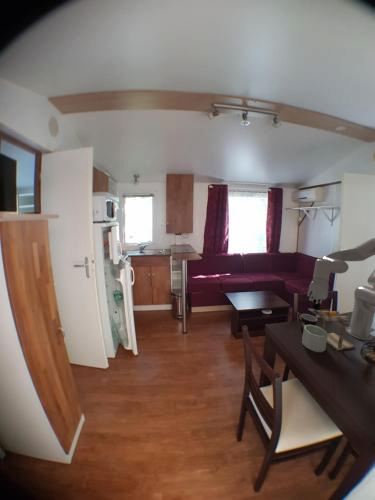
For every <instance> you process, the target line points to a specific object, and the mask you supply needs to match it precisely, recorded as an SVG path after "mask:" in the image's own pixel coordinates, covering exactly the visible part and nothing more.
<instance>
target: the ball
mask: <svg viewBox="0 0 375 500" xmlns="http://www.w3.org/2000/svg"><path fill="white" fill-rule="evenodd" d="M330 311H331V312H330V313H329V315H330V316H337V313H336V312H334V311H335V310H334V311H333V310H330Z"/></svg>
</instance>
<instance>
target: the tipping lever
mask: <svg viewBox="0 0 375 500" xmlns="http://www.w3.org/2000/svg"><path fill="white" fill-rule="evenodd" d="M307 310H308V311H310V312H311V313H313V314H314V315H316V316H319V317H320V318H321V319H322V320H323V319H325V320H326V322H332V323H334V324H335V325H337V326H339V327H340V328H341V327H342V322H346V323H348V325H347V326H346V328H347V327H349V326H350V322H351V318H350V316H349V315H348V316H345V315H344V316H342V315H340V311H339V310H337V311H336V310H334V312H336V313H337V316H330V315H329V313H330V312H331V311H332V310H320V309H319V310H315V309H313V308H308V309H307Z"/></svg>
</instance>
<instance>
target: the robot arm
mask: <svg viewBox="0 0 375 500" xmlns="http://www.w3.org/2000/svg"><path fill="white" fill-rule="evenodd" d="M374 255H375V237H373V238H370V239H367V240H366V241H364V242H362V243H359V244H357V245H356V246H354V247H352V248H345V249H341V250H337V251H334V252H333V251H332V252H331V253H329V254H327V255H325V256H323V257H322V258H317V259H316V260H315V263H314V269H313V275H312V280H311V282H310V283H309V286H308V290H307V297H308V301H310V302H312V307H311V309H315V310H320V308H321V307H320V306H321V305H322V302H323V301H325V300H326V299H327V298H328V296H329V295H328V294H329V285H330V284H329V282H330V276H331V273H333V274H344V273H346V272H347V271H348V270H349V264H348V263H347V262H362V261H363V262H364V261H365V260H368V259H369V258H371V257H373V256H374ZM367 283H368V285H370V286H372V287H370V286H367V285H358V286H357V287H356V288H355V290H354V293H353V295H354V296H353V297H354V303H353V304H354V305H353V309H352V312H351V318H350V322H349V326H348V327H346V328H345V331H346V333H347V334H348V335H349V336H351V337H354V338H355V339H358V340H362V341H369V342H370V341H372V340H373V338H374V336H373V335H372V334H371V333H372V332H373V333H374V332H375V329H374V328H373V327H372V326H373V321H374V317H375V288H373V287H375V268H374V269H373V271H372V272H371V274H370V275H369V276H368V278H367Z"/></svg>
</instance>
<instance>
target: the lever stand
mask: <svg viewBox="0 0 375 500" xmlns="http://www.w3.org/2000/svg"><path fill="white" fill-rule="evenodd" d="M326 325H327V321H326V320H325V319H323V318H322V321H321V328H322V329H324V330H325V329H326ZM347 325H348V323H346V322H342V327H341V326H340V333H339V334H337V333H335V332H329V333H328V332H327V334H328V338H327V343H326V344H328V345H329V346H331V347H332V348H333V349H335V351H342V350H348V349H354V348H355V345H354V344H353V343H351V342H350V341H348V340H347V339H345V338H344V336H345V331H346V328H347V327H346V326H347ZM348 326H349V325H348ZM325 331H326V330H325Z"/></svg>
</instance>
